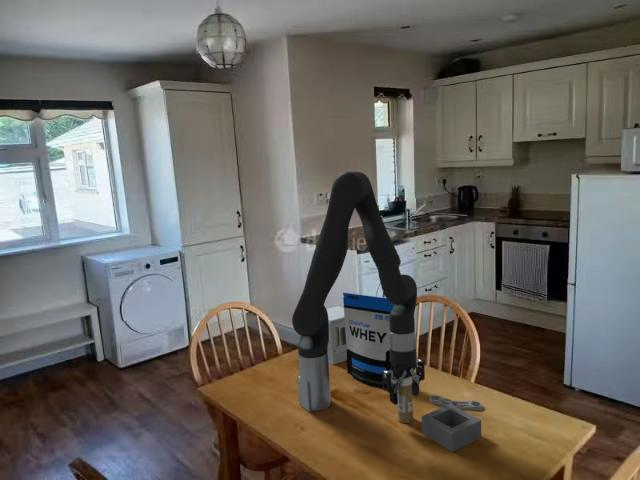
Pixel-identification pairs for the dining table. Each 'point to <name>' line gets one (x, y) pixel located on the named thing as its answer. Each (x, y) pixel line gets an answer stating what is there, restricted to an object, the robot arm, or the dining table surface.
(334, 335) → the supplement box
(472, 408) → the bracket
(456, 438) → the well
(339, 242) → the robot arm
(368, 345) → the protein powder
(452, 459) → the dining table surface
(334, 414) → the dining table surface
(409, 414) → the sprinkles bottle
